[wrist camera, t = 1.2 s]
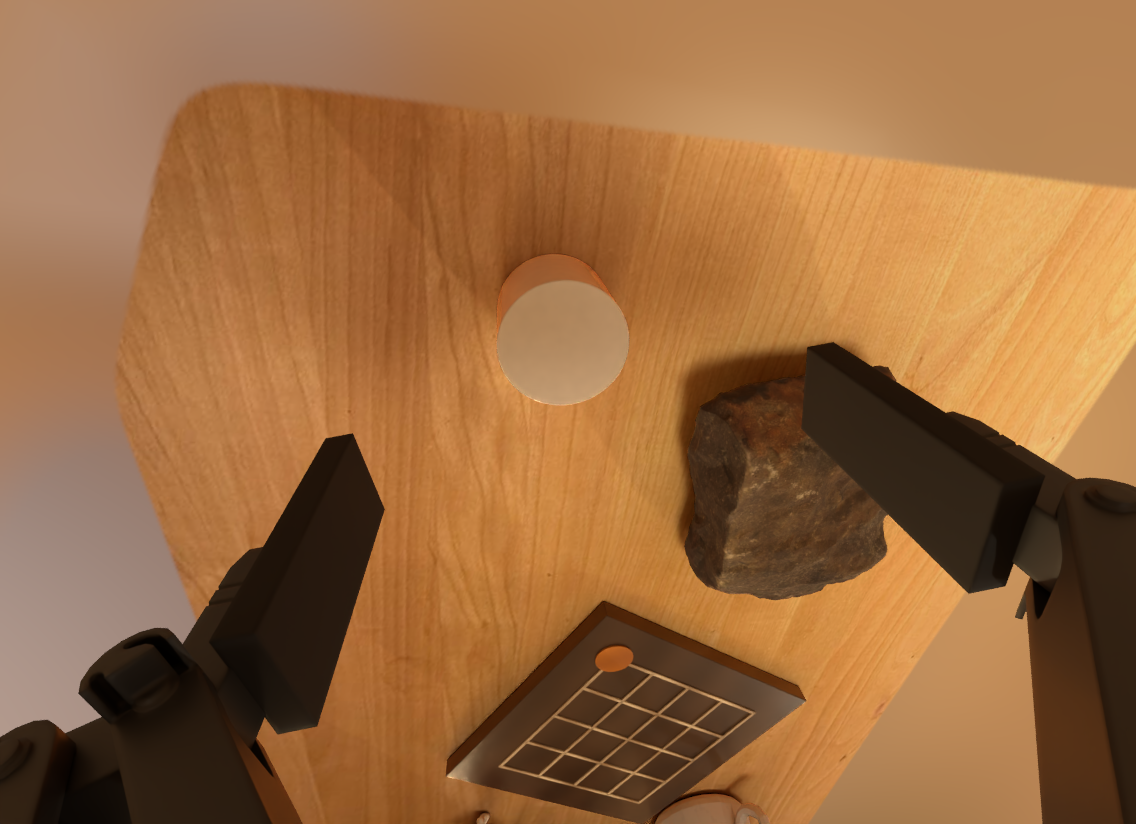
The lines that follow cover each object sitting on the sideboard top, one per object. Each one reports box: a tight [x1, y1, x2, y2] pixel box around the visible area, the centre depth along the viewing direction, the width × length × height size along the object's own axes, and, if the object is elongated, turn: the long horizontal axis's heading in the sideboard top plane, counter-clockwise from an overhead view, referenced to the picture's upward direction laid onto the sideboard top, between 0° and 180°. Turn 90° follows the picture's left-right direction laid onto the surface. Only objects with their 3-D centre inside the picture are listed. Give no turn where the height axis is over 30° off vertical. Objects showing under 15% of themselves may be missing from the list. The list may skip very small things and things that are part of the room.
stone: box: [684, 366, 896, 600], centre depth 27 cm, size 10×14×6 cm
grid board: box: [446, 602, 806, 824], centre depth 40 cm, size 20×20×1 cm
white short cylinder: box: [497, 254, 629, 405], centre depth 22 cm, size 5×5×4 cm
